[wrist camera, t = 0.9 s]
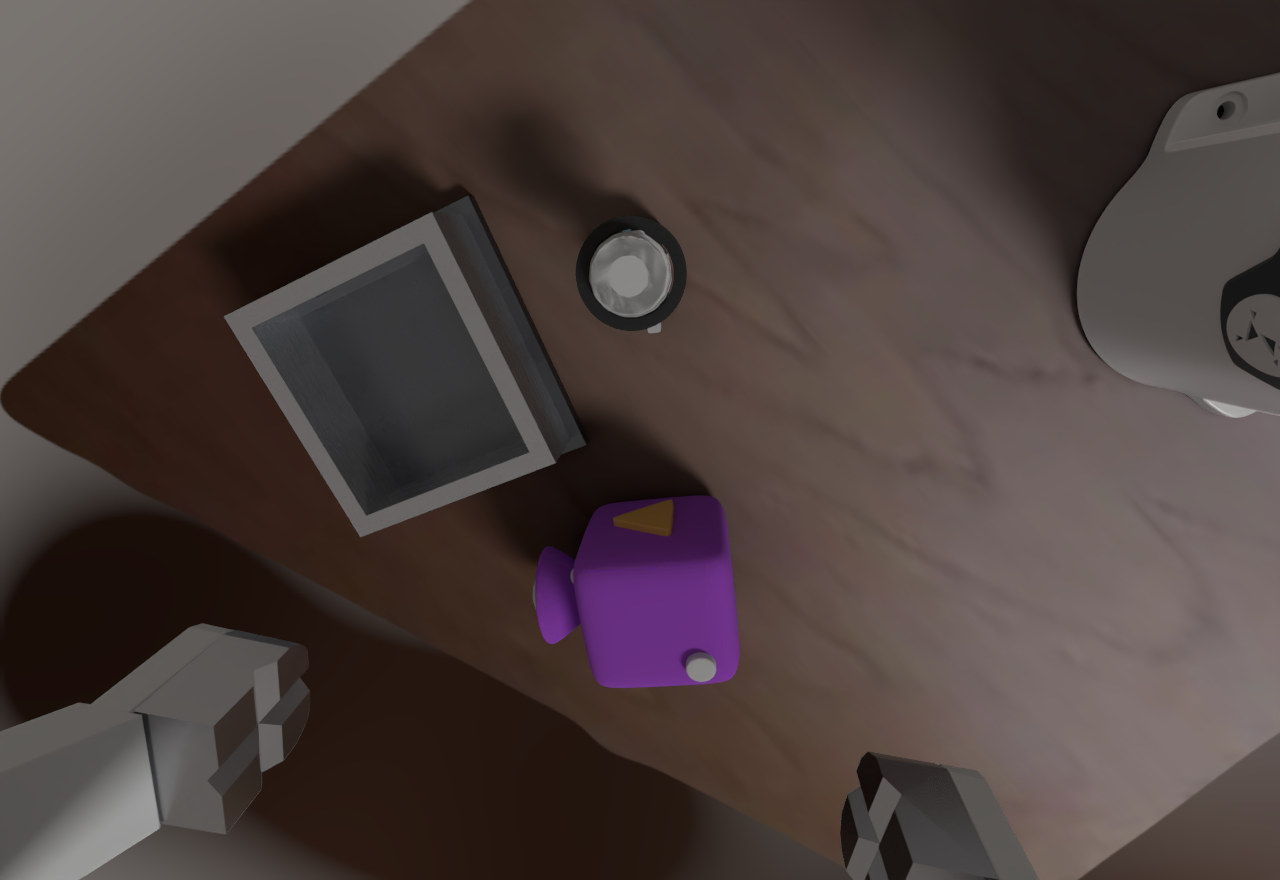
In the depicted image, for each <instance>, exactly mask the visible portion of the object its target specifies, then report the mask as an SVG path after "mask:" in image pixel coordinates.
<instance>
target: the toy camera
mask: <svg viewBox="0 0 1280 880" xmlns="http://www.w3.org/2000/svg"><path fill="white" fill-rule="evenodd" d="M533 602H534V606H535V609H536V613H537V620H538V624H539V628H540V631H541V633H542V635H543V637H544V639H545V640H546V641H547V642H548V643H549V644H554V643H557V642H558V641H560V640H561V639H563V638H564V637H565V636H567V635H568V634H569V633H570V632H571V631H573V630H574V629H575V628H576V627H577V626H578V625H579V624H581V628H582V633H583V637H584V642H585V647H586V651H587V655H588V659H589V663H590V667H591V670H592V673H593V675H594V677H595V679H596V681H597V682H598V683H599V684H600V685H602V686H606V687H611V688H633V687H656V686H677V685H696V684H711V683H719V682H723V681H727V680H729V679H731V678H732V677H733V676H734V674H735V672H736V670H737V667H738V662H739V633H738V622H737V612H736V602H735V592H734V582H733V573H732V563H731V553H730V544H729V535H728V527H727V521H726V517H725V513H724V510H723V508H722V506H721V504H720V502H719V501H718V500H717V499H716V498H714V497H711V496H705V495H697V496H682V497H670V498H659V499H648V500H637V501H626V502H617V503H611V504H606V505H603V506H601V507H599V508H598V509H597V510H596V511H595V512H594V514H593V515H592V517H591V519H590V522H589V524H588V526H587V529H586V531H585V534H584V536H583V539H582V542H581V545H580V548H579V550H578V553H577V556H576V560H574V559H573V558H571V557H570V556H568V555H567V554H565V553H564V552H562V551H560V550H559V549H556V548H554V547H551V546H547V547H545V548H544V549H543V551H542V553H541V555H540V557H539V561H538V565H537V571H536V580H535V584H534V587H533Z"/></svg>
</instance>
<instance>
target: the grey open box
mask: <svg viewBox="0 0 1280 880" xmlns="http://www.w3.org/2000/svg"><path fill="white" fill-rule="evenodd" d="M224 318H225V319H226V321H227V323H228V324H229V326H230V327H231V329H232V331H233V332H234V334H235V335H236V337H237V339H238V340H239V342H240V344H241V345H242V347H243V348H244V350H245V352H246V353H247V355H248V356H249V358H250V360H251V361H252V363H253V365H254V366H255V368H256V369H257V371H258V373H259V374H260V376H261V377H262V379H263V381H264V382H265V384H266V385H267V387H268V389H269V390H270V392H271V394H272V395H273V397H274V398H275V400H276V402H277V403H278V405H279V406H280V408H281V410H282V411H283V413H284V415H285V416H286V418H287V419H288V421H289V423H290V424H291V426H292V427H293V429H294V431H295V432H296V434H297V435H298V437H299V439H300V440H301V442H302V444H303V445H304V447H305V448H306V450H307V452H308V453H309V455H310V456H311V458H312V460H313V461H314V463H315V465H316V466H317V468H318V469H319V471H320V473H321V474H322V476H323V477H324V479H325V481H326V482H327V484H328V486H329V487H330V489H331V490H332V492H333V494H334V495H335V497H336V498H337V500H338V502H339V503H340V505H341V506H342V508H343V510H344V511H345V513H346V515H347V516H348V518H349V519H350V521H351V523H352V524H353V526H354V527H355V529H356V531H357V532H358V534H359V536H360V537H362V536H365V535H367V534H370V533H373V532H375V531H378V530H381V529H383V528H386V527H388V526H391V525H394V524H396V523H399V522H402V521H404V520H407V519H410V518H412V517H415V516H417V515H420V514H423V513H425V512H428V511H431V510H433V509H436V508H439V507H441V506H444V505H446V504H449V503H452V502H454V501H457V500H460V499H462V498H465V497H468V496H470V495H473V494H475V493H478V492H481V491H483V490H486V489H489V488H491V487H494V486H496V485H499V484H502V483H504V482H507V481H510V480H512V479H515V478H518V477H520V476H523V475H525V474H528V473H531V472H533V471H536V470H539V469H541V468H544V467H547V466H549V465H552V464H554V463H556V462H557V460H558V459H559V457H560V455H561V454H564V453H567V452H569V451H572V450H574V449H577V448H580V447H582V446H585V445H587V443H588V441H589V439H588V437H587V435H586V433H585V431H584V429H583V427H582V424H581V422H580V420H579V418H578V416H577V414H576V412H575V410H574V407H573V405H572V403H571V401H570V399H569V397H568V395H567V393H566V391H565V388H564V386H563V384H562V382H561V380H560V378H559V376H558V374H557V371H556V369H555V367H554V365H553V363H552V361H551V359H550V357H549V355H548V352H547V350H546V348H545V346H544V344H543V342H542V340H541V338H540V335H539V333H538V331H537V329H536V327H535V325H534V323H533V321H532V319H531V316H530V314H529V312H528V310H527V308H526V306H525V304H524V302H523V299H522V297H521V295H520V293H519V291H518V289H517V287H516V285H515V282H514V280H513V278H512V276H511V274H510V272H509V270H508V268H507V266H506V263H505V261H504V259H503V257H502V255H501V253H500V251H499V249H498V246H497V244H496V242H495V240H494V238H493V236H492V234H491V232H490V230H489V227H488V225H487V223H486V221H485V219H484V217H483V215H482V213H481V210H480V208H479V206H478V204H477V202H476V200H475V198H474V196H466V197H464V198H462V199H460V200H458V201H456V202H454V203H452V204H450V205H448V206H446V207H444V208H442V209H440V210H438V211H436V212H431V213H429V214H427V215H425V216H423V217H421V218H419V219H417V220H415V221H413V222H411V223H409V224H407V225H405V226H403V227H401V228H399V229H397V230H395V231H393V232H391V233H389V234H387V235H385V236H383V237H381V238H379V239H377V240H375V241H373V242H371V243H369V244H367V245H365V246H363V247H361V248H359V249H357V250H355V251H353V252H351V253H349V254H347V255H345V256H343V257H341V258H339V259H337V260H335V261H333V262H331V263H329V264H327V265H325V266H323V267H321V268H320V269H318V270H316V271H314V272H312V273H310V274H308V275H306V276H304V277H302V278H300V279H298V280H296V281H294V282H292V283H290V284H288V285H286V286H284V287H282V288H280V289H278V290H276V291H274V292H272V293H270V294H268V295H266V296H264V297H262V298H260V299H258V300H256V301H254V302H252V303H250V304H248V305H246V306H244V307H242V308H240V309H238V310H236V311H234V312H232V313H230V314H228V315H226V316H224Z"/></svg>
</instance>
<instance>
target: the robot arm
mask: <svg viewBox="0 0 1280 880" xmlns="http://www.w3.org/2000/svg"><path fill="white" fill-rule="evenodd" d="M1220 105H1222V106H1223V107H1224V113H1223V116H1222V117H1221V118H1220V119H1219V118H1218V116H1217V110H1218V108H1219V106H1220ZM1077 305H1078V312H1079V317H1080V321H1081V324H1082V327H1083V330H1084V332H1085V335H1086V337H1087V339H1088V341H1089V342H1090V344H1091V346H1092V347H1093V349H1094V350H1095V351H1096V353H1097V354H1098V355H1099V356H1100V357H1101V358H1102V359H1103V360H1104V361H1105V362H1106V363H1107V364H1108V365H1109V366H1110V367H1111V368H1113V369H1114V370H1116V371H1117V372H1119V373H1120V374H1122V375H1124V376H1126V377H1127V378H1130V379H1132V380H1134V381H1137V382H1140V383H1143V384H1146V385H1150V386H1155V387H1160V388H1165V389H1170V390H1175V391H1178V392H1181V393H1184V394H1186V395H1187V396H1189V397H1190V398H1191V399H1192V400H1194V401H1195V402H1196V403H1198V404H1199V405H1200V406H1202V407H1203V408H1205V409H1206V410H1208V411H1210V412H1212V413H1214V414H1217V415H1222V416H1227V417H1232V418H1240V417H1244V416H1247V415H1250V414H1252V413H1254V412H1256V411H1259V412H1264V413H1268V414H1273V415H1277V416H1280V72H1279V73H1274V74H1270V75H1266V76H1261V77H1257V78H1253V79H1248V80H1244V81H1240V82H1235V83H1231V84H1227V85H1222V86H1218V87H1214V88H1209V89H1205V90H1201V91H1196V92H1193V93H1190V94H1187V95H1185V96H1183V97H1182V98H1180V99H1179V100H1178V101H1176V102H1175V103H1174V104H1173V106H1172V107H1171V108H1170V110H1169V111H1168V112H1167V114H1166V116H1165V118H1164V119H1163V121H1162V124H1161V126H1160V128H1159V130H1158V132H1157V134H1156V137H1155V139H1154V141H1153V144H1152V146H1151V149H1150V151H1149V154H1148V156H1147V158H1146V159H1145V161H1144V162H1143V164H1142V165H1141V167H1140V168H1139V169H1138V170H1137V172H1136V173H1135V174H1134V175H1133V176H1132V177H1131V178H1130V180H1129V181H1128V182H1127V183H1126V184H1125V185H1124V186H1123V187H1122V189H1121V190H1120V191H1119V192H1118V193H1117V194H1116V196H1115V197H1114V198H1113V199H1112V201H1111V202H1110V203H1109V205H1108V206H1107V208H1106V209H1105V210H1104V212H1103V213H1102V215H1101V217H1100V218H1099V220H1098V222H1097V223H1096V225H1095V227H1094V229H1093V231H1092V233H1091V235H1090V237H1089V240H1088V242H1087V245H1086V247H1085V250H1084V253H1083V256H1082V260H1081V264H1080V268H1079V274H1078V281H1077ZM308 667H309V664H308V654H307V648H306V647H304V646H302V645H300V644H298V643H293V642H288V641H284V640H279V639H275V638H270V637H265V636H260V635H256V634H252V633H247V632H242V631H237V630H229V629H225V628H220V627H216V626H211V625H207V624H200V625H196V626H193V627H189V628H188V629H187V630H185V631H184V632H183V633H182V634H180V635H179V636H178V637H176V638H175V639H174V640H173V641H171V642H170V643H169V644H168V645H166V646H165V647H164V648H162V649H161V650H160V651H159V652H157V653H156V654H155V655H153V656H152V657H151V658H150V659H148V660H147V661H146V662H144V663H143V664H142V665H141V666H139V667H138V668H137V669H135V670H134V671H133V672H132V673H130V674H129V675H128V676H127V677H125V678H124V679H123V680H121V681H120V682H119V683H117V684H116V685H115V686H114V687H112V688H111V689H110V690H109V691H107V692H106V693H105V694H103V695H102V696H101V697H100V698H98V699H97V700H96V701H94V702H93V703H92V704H91V705H90V704H83V703H77V704H74V705H71V706H68V707H66V708H63V709H61V710H58V711H55V712H52V713H50V714H47V715H44V716H41V717H39V718H36V719H33V720H31V721H28V722H25V723H22V724H20V725H17V726H14V727H12V728H9V729H6V730H4V731H1V732H0V880H79V879H81V878H82V877H84V876H86V875H87V874H89V873H90V872H92V871H93V870H95V869H97V868H98V867H100V866H101V865H103V864H104V863H106V862H108V861H109V860H111V859H112V858H114V857H115V856H117V855H118V854H120V853H122V852H123V851H125V850H126V849H128V848H129V847H131V846H133V845H134V844H135V843H137V842H139V841H140V840H142V839H144V838H145V837H147V836H148V835H150V834H151V833H153V832H155V831H156V830H158V829H159V828H160V824H166V825H172V826H178V827H185V828H190V829H196V830H202V831H209V832H214V833H220V834H227V833H228V831H229V830H230V829H231V827H232V826H233V825H234V823H235V822H236V821H237V820H238V818H239V817H240V816H241V814H242V813H243V812H244V811H245V810H246V808H247V807H248V806H249V804H250V803H251V802H252V801H253V799H254V798H255V797H256V795H257V794H258V793H259V792H260V790H261V789H262V772H263V771H265V770H267V769H269V768H271V767H272V766H274V765H276V764H278V763H280V762H282V761H283V760H284V759H285V758H286V756H287V755H288V754H289V753H290V751H291V750H292V748H293V747H294V746H295V744H296V743H297V741H298V739H299V737H300V735H301V733H302V730H303V728H304V726H305V724H306V722H307V718H308V713H309V708H310V691H309V690H308V688H307V687H306V685H305V684H304V683H303V682H302V680H301V679H300V676H301V675H302V674H303V673H304V672H305V670H306V669H307V668H308ZM856 772H857V776H858V779H859V783H860V787H858V788H857V789H855V790H854V791H852V792H851V793H849V794H847V797H846V801H845V804H844V807H843V810H842V814H841V827H840V839H841V849H842V855H843V859H844V864H845V868H846V871H847V872H848V874H849V875H850V876H851V877H852V879H853V880H1039V878H1038V876H1037V874H1036V872H1035V870H1034V868H1033V867H1032V865H1031V863H1030V861H1029V859H1028V857H1027V855H1026V854H1025V852H1024V850H1023V848H1022V846H1021V844H1020V842H1019V840H1018V839H1017V837H1016V835H1015V833H1014V831H1013V829H1012V827H1011V826H1010V824H1009V822H1008V820H1007V818H1006V816H1005V814H1004V813H1003V811H1002V809H1001V807H1000V805H999V803H998V801H997V800H996V798H995V796H994V794H993V792H992V790H991V788H990V787H989V785H988V783H987V781H986V779H985V778H984V777H983V776H982V775H981V774H980V773H979V772H978V771H976V770H970V769H965V768H959V767H953V766H948V765H942V764H939V765H937V764H935V763H929V762H924V761H918V760H913V759H907V758H902V757H896V756H891V755H885V754H880V753H874V752H867V753H866V754H865V755H864V756H863V757H862V758H861V760H860V763H859V765H858V768H857V770H856Z"/></svg>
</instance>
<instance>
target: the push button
mask: <svg viewBox="0 0 1280 880" xmlns="http://www.w3.org/2000/svg"><path fill="white" fill-rule="evenodd" d="M620 231H622V232H623V233H619V234H616V233H618V232H620ZM614 234H615V235H614ZM661 244H663V245H664V246H665V247H666V249H667V250H668V252H669V254H670V256H671V259H672V262H673V267H674V282H673V287H672V290H671V292H670V294H668V290H669V287H670V284H671V279H672V278H671V266H670V261H669V254H668V253H667V254H666V253H665V252H664V250H663V248H662V247H661ZM686 276H687V270H686V262H685V258H684V255H683V252H682V250H681V247H680V245H679V244H678V242H677V240H676V239H675V238H674V236H673V235H672V234H671V233H670V232H669V231H668V230H667V229H666V228H664V227H663V226H662V225H660V223H659V222H655V221H653V220H651V219H648V218H644V217H639V216H622V217H617V218H613V219H611V220H609V221H607V222H605V223H603V224H601V225H600V226H598V227H597V228H596V229H595V230H594V231H593V232H592V233H591V234H590V235H589V236H588V238H587V239H586V240H585V242H584V244H583V245H582V248H581V250H580V252H579V255H578V259H577V264H576V281H577V286H578V290H579V293H580V296H581V298H582V300H583V302H584V304H585V305H586V307H587V308H588V309H589V311H590V312H591V313H592V314H593V315H594V316H595V317H596V318H598V319H599V320H600V321H602V322H603V323H605V324H607V325H609V326H611V327H613V328H616V329H620V330H626V331H637V330H643V329H647V328H648V333H657V332H660V331H661V322H662V321H663V320H665V319H666V318H667V317H668V316H669V315H670V314H671V313H672V312H673V311H674V309H675V308H676V307H677V305H678V303H679V302H680V300H681V298H682V295H683V292H684V289H685V285H686ZM655 325H656V326H655Z"/></svg>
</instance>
